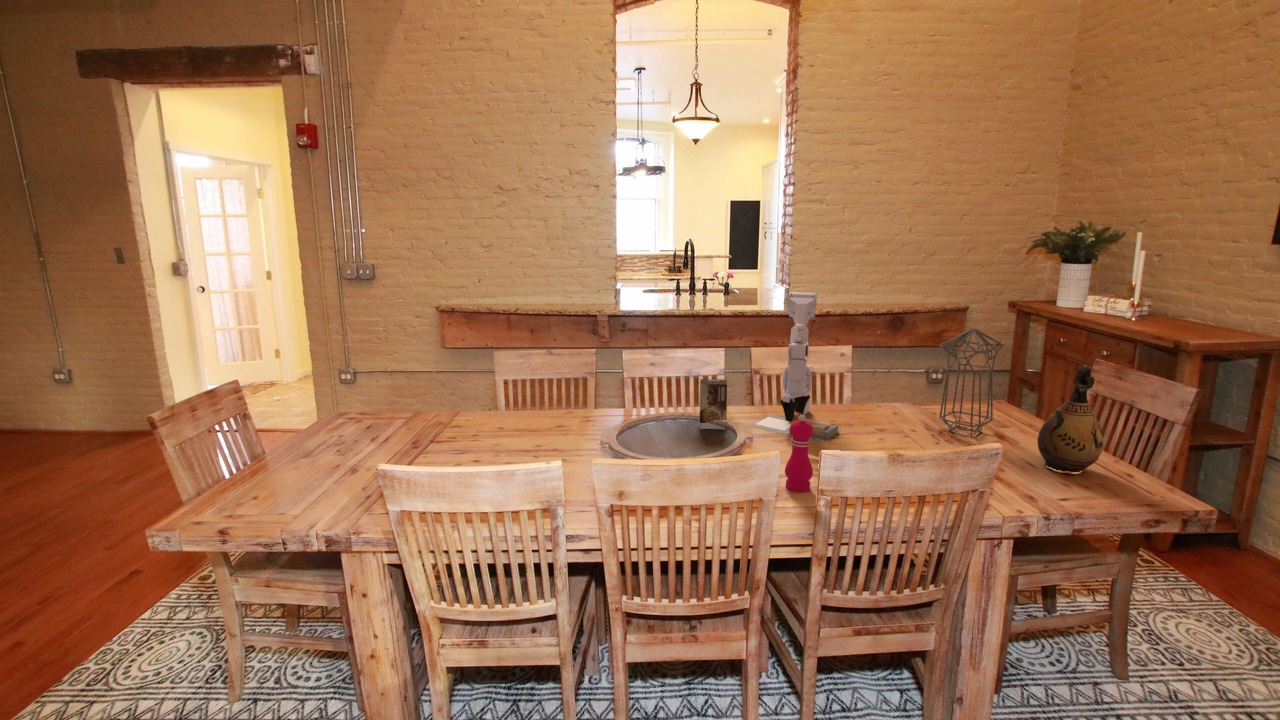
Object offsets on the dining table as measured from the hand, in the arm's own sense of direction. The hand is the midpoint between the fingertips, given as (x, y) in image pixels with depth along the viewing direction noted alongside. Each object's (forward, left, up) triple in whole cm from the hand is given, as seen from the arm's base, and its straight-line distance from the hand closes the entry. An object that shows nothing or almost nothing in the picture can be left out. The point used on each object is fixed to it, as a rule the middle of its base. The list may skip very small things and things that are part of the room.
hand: (794, 418), depth 218 cm
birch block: (0, +5, -3) cm, 6 cm away
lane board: (0, 0, -4) cm, 4 cm away
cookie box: (+15, -23, -4) cm, 27 cm away
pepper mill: (+43, +21, -4) cm, 48 cm away
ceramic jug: (-18, +75, -4) cm, 78 cm away
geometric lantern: (-34, +44, -4) cm, 56 cm away
